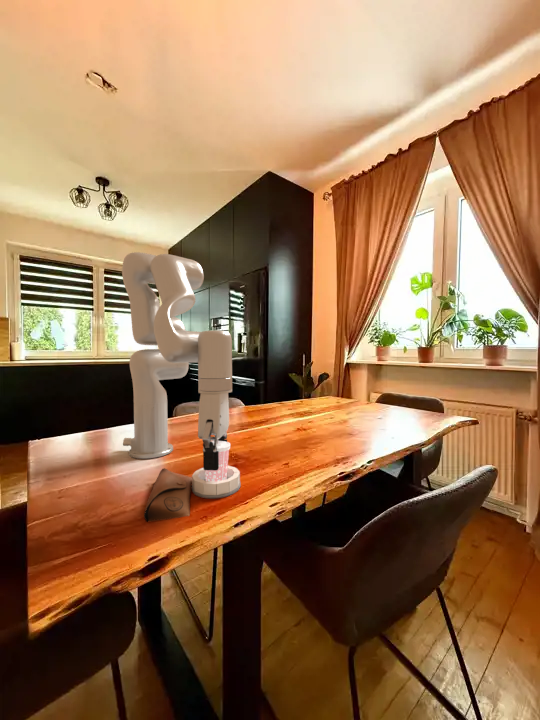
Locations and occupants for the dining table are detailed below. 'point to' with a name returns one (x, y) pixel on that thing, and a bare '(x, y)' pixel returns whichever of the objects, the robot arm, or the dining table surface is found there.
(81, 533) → the dining table surface
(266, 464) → the dining table surface
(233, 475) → the cup holder ring
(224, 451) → the beverage cup
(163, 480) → the sunglasses case
